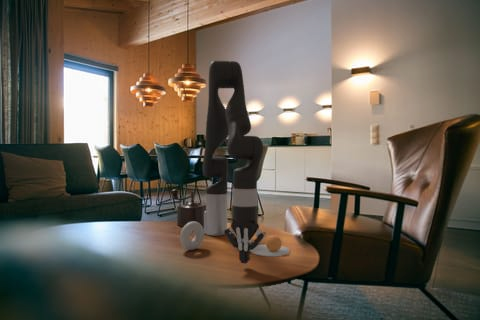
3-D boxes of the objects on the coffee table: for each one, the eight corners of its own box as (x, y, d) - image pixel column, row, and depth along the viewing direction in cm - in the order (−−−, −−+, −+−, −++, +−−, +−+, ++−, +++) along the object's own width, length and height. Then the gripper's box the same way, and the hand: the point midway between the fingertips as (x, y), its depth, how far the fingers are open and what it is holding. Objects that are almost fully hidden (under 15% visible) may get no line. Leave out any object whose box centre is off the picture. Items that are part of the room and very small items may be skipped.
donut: (184, 254, 103) (184, 224, 103) (177, 251, 106) (177, 222, 106) (206, 247, 111) (206, 220, 111) (199, 246, 113) (199, 218, 113)
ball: (264, 234, 106) (270, 232, 111) (262, 250, 106) (268, 248, 111) (279, 238, 103) (284, 236, 108) (277, 254, 103) (282, 251, 108)
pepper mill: (189, 222, 158) (190, 186, 158) (207, 224, 152) (207, 188, 152) (168, 227, 145) (168, 189, 145) (185, 230, 139) (186, 190, 139)
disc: (243, 253, 105) (243, 252, 105) (258, 243, 117) (258, 242, 117) (283, 258, 99) (283, 258, 99) (294, 247, 112) (294, 247, 112)
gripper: (218, 203, 90) (218, 263, 90) (261, 206, 84) (261, 270, 84) (230, 200, 96) (229, 256, 96) (270, 203, 91) (270, 262, 91)
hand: (244, 262), depth 90 cm, fingers closed
